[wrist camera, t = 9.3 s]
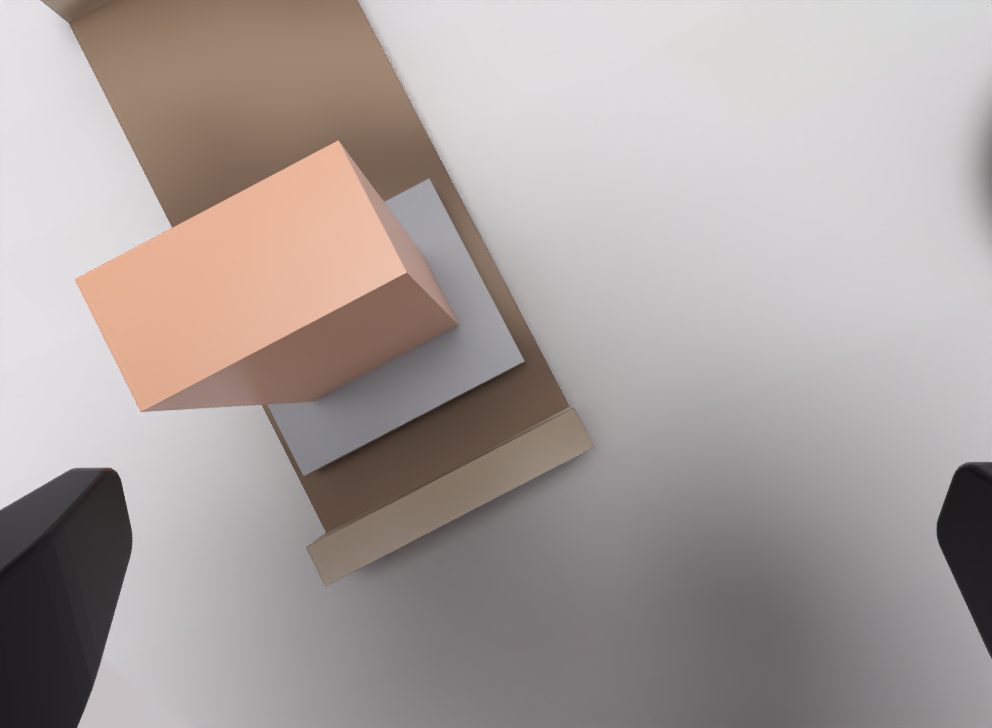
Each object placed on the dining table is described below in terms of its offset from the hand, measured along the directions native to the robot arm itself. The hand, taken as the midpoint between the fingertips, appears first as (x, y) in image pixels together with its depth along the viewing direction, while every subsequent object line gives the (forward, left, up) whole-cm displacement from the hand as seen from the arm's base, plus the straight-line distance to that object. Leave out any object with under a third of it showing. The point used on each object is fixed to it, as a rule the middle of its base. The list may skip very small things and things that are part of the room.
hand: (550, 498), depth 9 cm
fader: (+4, +2, -12) cm, 13 cm away
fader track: (+8, +2, -13) cm, 16 cm away
